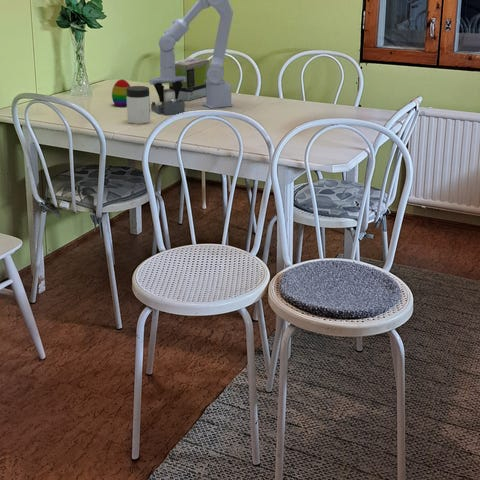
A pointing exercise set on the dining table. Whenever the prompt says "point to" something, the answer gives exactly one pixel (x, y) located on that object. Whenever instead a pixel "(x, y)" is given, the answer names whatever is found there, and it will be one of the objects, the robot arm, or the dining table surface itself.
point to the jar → (138, 104)
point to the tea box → (192, 78)
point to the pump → (168, 94)
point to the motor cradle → (169, 107)
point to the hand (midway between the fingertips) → (168, 101)
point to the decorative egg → (120, 93)
